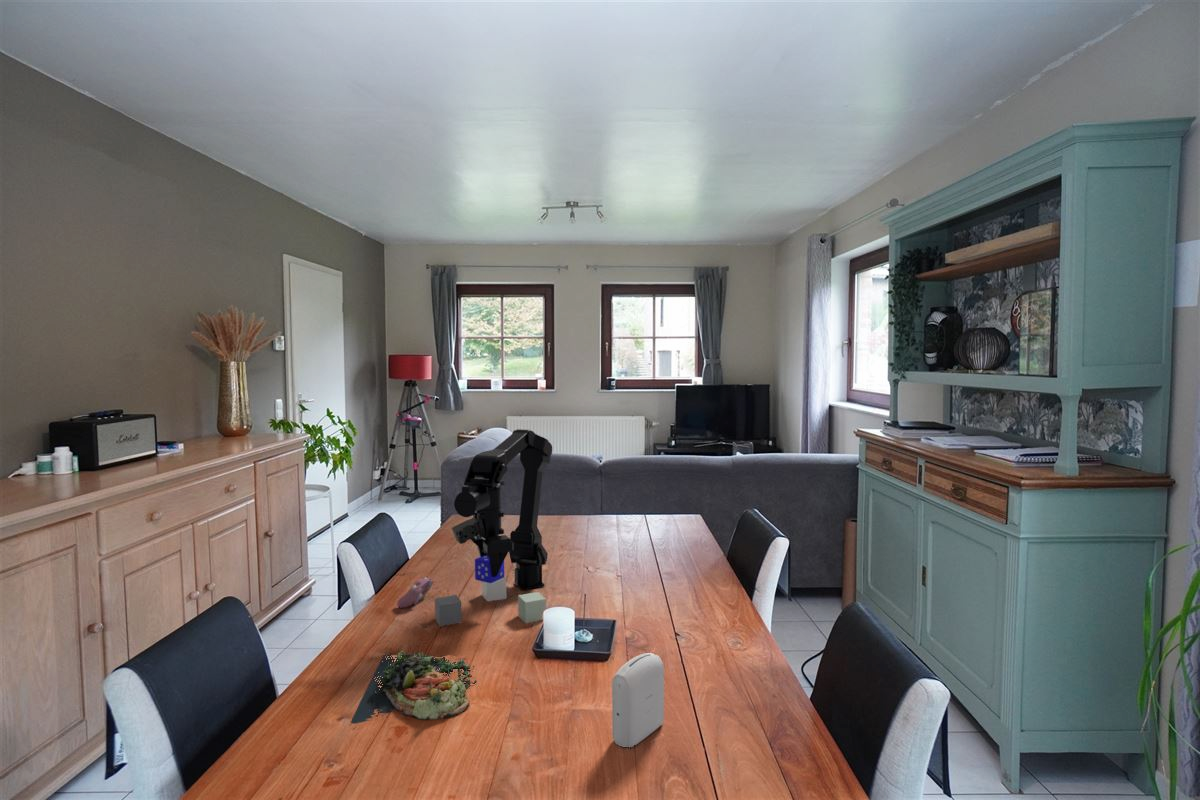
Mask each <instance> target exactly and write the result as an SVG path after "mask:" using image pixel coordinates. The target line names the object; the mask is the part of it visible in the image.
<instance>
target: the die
mask: <svg viewBox="0 0 1200 800" xmlns="http://www.w3.org/2000/svg"><path fill="white" fill-rule="evenodd" d="M474 578H475V579H474V580H475V581H479V582H482V581H483V582H487V583H493V582H495V581H497V580H499V579H502V578H505V560H504V561H503V564H502V566H501V568H500V570H499V572H498V575H497V576H496V577H492V575H491V570H490V564H489V558H488V555H484V556H482V557H480V556H479V557H477V558H475V559H474Z"/></svg>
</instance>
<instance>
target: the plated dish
mask: <svg viewBox="0 0 1200 800" xmlns="http://www.w3.org/2000/svg"><path fill="white" fill-rule="evenodd" d="M396 654H397V653H396ZM401 654H402V655H401ZM414 654H415V655H414ZM386 655H387V656H389V657H388V658H390V659H388V658H387V656H386ZM391 655H392V654H384V655H383V656H384V657H383V656H382V658H383V659H382V658H381V659H380V662H379V664H378V666H377V668H376V670H375V671H376V672H374V674H373V675H374V676H372V677H373V678H371V679H372V680H370V682H369V683H368V686H367V687H366V690H365V691H364V694H363V695H362V698H361V700H360V702H359V704H358V706H357V707H356V711H355V713H354V714H353V717H352V718H351V721H350V726H352V725H355V724H356V725H359V724H360V723H364V722H367V721H368V720H369V721H370V722H371V721H372V718H373V716H374V718H376V717H379V715H380V716H381V717H382V716H383V717H384V715H383V714H389V713H392V712H393V713H394V712H395V710H396V711H397V712H398V711H400V712H399V713H401V712H402V713H401V714H402V715H403V716H405V715H406V716H410V717H415V718H417V719H418V720H423V721H425V720H427V719H428V720H430V719H432V720H433V719H435V720H440V719H446V717H447V718H450V717H455V715H456V714H457V715H459V714H458V713H460V712H461V713H464V712H465V711H466V710H467V709H468V708H469V706H470V703H471V701H470V699H469V697H468V695H467V694H466V693H467V692H466V690H467V689H468V688H469V686H468V685H470V684H471V683H472V684H475V683H476V682H477V680H476V679H475V678H476V677H473V678H470V677H469V676H472V675H473V674H471V673H469V674H468V672H467V671H471V670H468V669H470V668H471V667H473V668H475V666H474V665H472V666H470V664H467V663H465V662H464V660H465V659H461V658H460V659H459V660H460V661H458V662H457V664H455V663H456V662H453V663H452V662H451V663H452V664H451V663H450V662H449V660H448V661H447V659H446V660H445V657H443V658H439V659H438V658H435V657H433V656H434V655H428V654H424V653H423V652H419V653H418V652H417V653H405V651H404V650H401V651H400V652H399V653H398V654H397V657H395V658H397V659H396V661H395V662H394V660H395V659H393V657H392V656H391ZM385 656H386V658H387V660H386V658H385ZM390 656H391V657H392V659H391V657H390ZM401 656H402V657H401ZM434 658H435V659H434ZM392 660H393V662H392ZM397 660H398V661H397ZM434 660H435V661H434ZM461 660H462V661H461ZM382 661H383V662H382ZM446 661H447V662H446ZM449 663H450V664H449ZM390 664H391V665H390ZM466 664H467V665H466ZM439 668H440V670H439ZM437 669H438V670H439V671H438V670H437ZM453 669H458V672H457V676H458V677H457V678H459V679H457V680H453V679H450V678H447V677H444V676H443V675H444V674H443V675H442V674H441V673H444V672H445V673H447V674H448V676H449V674H450V672H453ZM460 669H463V670H464V672H463V673H462V672H461V671H462V670H461V671H460ZM378 672H379V673H378ZM461 673H462V674H463V675H465V676H461ZM378 676H379V677H378ZM380 676H381V677H380ZM375 677H376V678H375ZM377 677H378V678H377ZM382 677H383V678H382ZM449 677H450V676H449ZM461 677H462V678H461ZM467 677H468V678H470V679H464V678H467ZM374 678H375V679H374ZM379 678H380V679H379ZM376 679H377V680H376ZM461 679H464V680H461ZM375 680H376V681H375ZM378 680H379V681H380V680H381V681H380V683H381V682H382V683H381V684H380V683H379V681H378ZM470 680H472V681H473V680H474V683H473V682H470ZM377 681H378V682H377ZM463 682H466V683H467V684H464V683H463ZM378 683H379V684H378ZM477 683H478V682H477ZM382 684H383V685H382ZM379 685H380V686H382V687H381V688H380V687H378V686H379ZM475 685H476V684H475ZM470 686H471V685H470ZM379 689H380V690H379ZM375 691H376V692H375ZM393 710H394V711H393ZM464 710H465V711H464ZM463 711H464V712H463ZM376 712H377V714H376ZM379 713H380V714H379ZM461 713H460V714H461ZM457 715H456V716H457ZM388 716H389V715H386V718H389V717H388ZM449 716H450V717H449ZM439 718H440V719H439Z"/></svg>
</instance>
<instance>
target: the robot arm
mask: <svg viewBox="0 0 1200 800" xmlns="http://www.w3.org/2000/svg"><path fill="white" fill-rule="evenodd" d="M518 455H519V461H520V463H521V465H522V467H523V470H524V473H523V484H522V492H521V493H522V494H521V502H520V509H519V520H518V525H517V527H516V528H515V529H514V530H512V531H511V532H510V534H509V536H510V537H509V536H508V535H506V534H505V530H504V528H502V518H504V517H505V513H504V511H502V488H501V487H503V486H505V483H506V482H504V480H502V479H503V477H504V475H505V474H506V473H507V471H508V465H509V463H510V462H511V461H512V460H514V459H515V457H518ZM552 455H553V445H552V444H551V442H550V441H549V439H547V438H545V437H544V436H541V435H539V434H537V433H535V432H534V431H533V430H531V429H520V428H519V429H518V428H517V429H515V430H513V431H512V433H511V434H510V435H509V436H508V437H507V438H506V439H504V440H503V441H502V442H500V443H499V444H498V445H497V446H496V447H494V448H493V449H491V450H490V449H489V450H485V451H481V452H480V453H478V454H475V455H474V457H473V458H472V460H471V462H470V464H469V466H468V467H469V468H468V471H467V474H466V477H465V480H464V481H463V485H462V487H461V492H459V493H458V494H457V495H456V496H455V499H454V502H453V507H454V509H455V511H456V512H457V514H458V515H460V516H461V517H463V518H470V517H472V518H470V519H467V520H465V521H462V522H460V523H458V524H456V525H455V526H452V527H451V530H452V533H453V535H454V538H455V540H456V541H457V542H458V543H459V544H461V545H463V544H465V543H467V541H469V540H470V541H471V542H473V544H475V545H476V546H477V549H478V553H479V557H482V556H484V555H488V558H489V564H490V570H491V575H492V577H496V576H497V575H498V572H499V570H500V568H501V566H502V564H503V561H504V562H505V559H506V557H507V556H508V554H509V559H510V563H511V564H515V568H514V581H513V582H514V584H515V585H516V586H517V587H518V588H519V589H520V590H522V591H524V590H525V591H526V590H529V589H530V590H531V589H536V588H542V587H545V583H544V582H543V566H544V565H546V564H547V561H548V556H549V555H548V551H547V550H546V549H545V546H544V545H543V541H542V540H543V537H542V534H541V532H540V530H539V527H538V520H539V511H540V503H541V502H540V500H541V489H542V481H543V472H544V471H545V470H546V469H547V466H549V465H550V462H551V457H552Z"/></svg>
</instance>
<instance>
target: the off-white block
mask: <svg viewBox="0 0 1200 800" xmlns="http://www.w3.org/2000/svg"><path fill="white" fill-rule="evenodd" d="M481 596H482V598H483V599H484V600H485V599H486V600H487V601H488V602H493V600H494V601H499V600H500V601H501V600H505V599H507V579H506V578H505V577H504V578H502V579H499V580H497V581H495V582H493V583H487V582H483V581H481ZM486 600H485V601H486ZM487 601H486V602H487Z"/></svg>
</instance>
